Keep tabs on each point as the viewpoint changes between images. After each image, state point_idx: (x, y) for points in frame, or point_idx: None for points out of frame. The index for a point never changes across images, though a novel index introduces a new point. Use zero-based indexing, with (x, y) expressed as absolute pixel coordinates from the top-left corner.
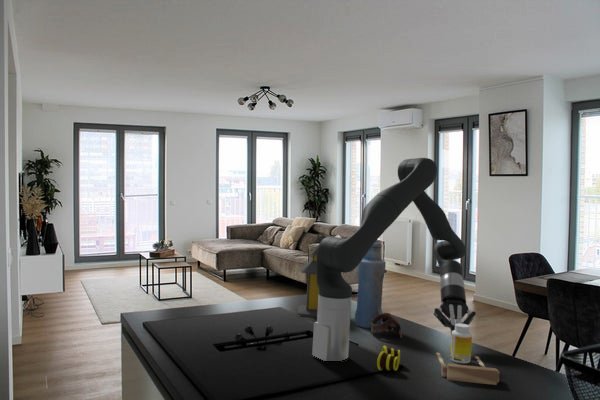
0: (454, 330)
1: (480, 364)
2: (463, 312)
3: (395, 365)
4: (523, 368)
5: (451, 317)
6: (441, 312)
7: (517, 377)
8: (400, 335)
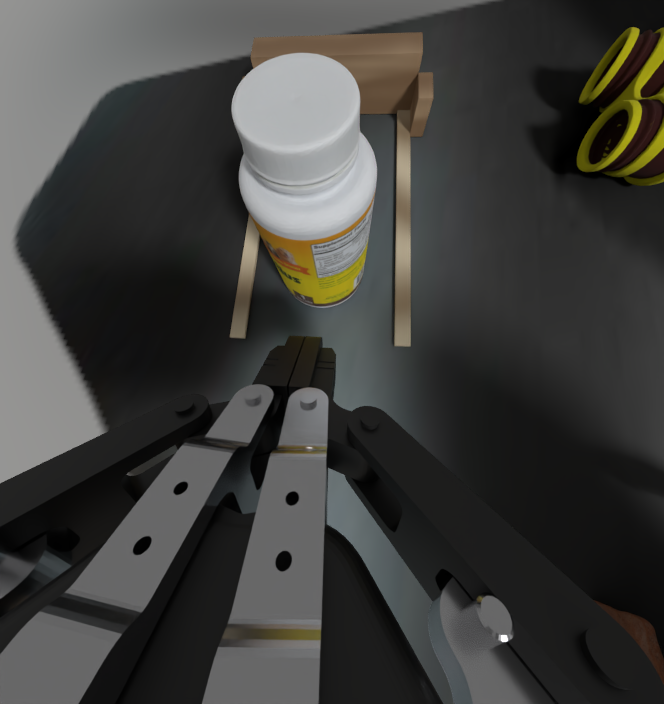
0: (354, 181)
1: (257, 241)
2: (59, 587)
3: (596, 99)
4: (106, 253)
5: (316, 449)
6: (471, 566)
7: (175, 167)
8: (617, 610)
